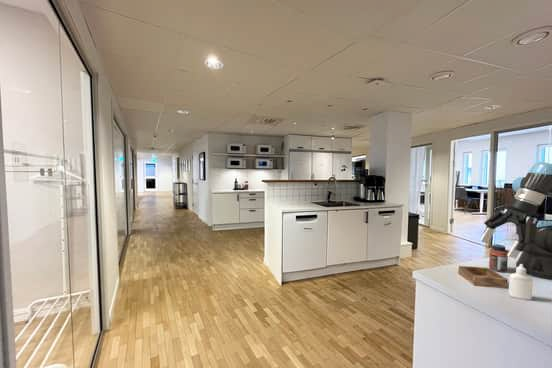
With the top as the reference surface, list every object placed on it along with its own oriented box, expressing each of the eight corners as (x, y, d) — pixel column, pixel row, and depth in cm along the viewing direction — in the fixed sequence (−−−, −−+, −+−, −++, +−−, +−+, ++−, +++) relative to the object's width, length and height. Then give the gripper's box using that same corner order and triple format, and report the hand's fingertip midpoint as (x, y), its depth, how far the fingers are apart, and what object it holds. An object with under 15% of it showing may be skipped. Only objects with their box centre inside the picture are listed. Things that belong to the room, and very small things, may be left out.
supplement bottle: (485, 266, 109) (486, 243, 108) (500, 267, 108) (501, 243, 107) (494, 272, 103) (496, 247, 102) (510, 273, 102) (512, 248, 101)
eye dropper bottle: (531, 302, 79) (533, 268, 78) (508, 296, 83) (509, 263, 83) (531, 298, 82) (533, 265, 81) (509, 292, 86) (510, 260, 86)
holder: (487, 275, 100) (487, 267, 99) (507, 288, 89) (507, 279, 89) (458, 273, 102) (458, 265, 102) (474, 285, 91) (474, 276, 91)
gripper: (490, 191, 102) (466, 233, 106) (550, 207, 77) (515, 261, 82) (507, 197, 101) (481, 239, 106) (572, 215, 77) (535, 268, 81)
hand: (496, 249), depth 94 cm, fingers open, 13 cm apart
